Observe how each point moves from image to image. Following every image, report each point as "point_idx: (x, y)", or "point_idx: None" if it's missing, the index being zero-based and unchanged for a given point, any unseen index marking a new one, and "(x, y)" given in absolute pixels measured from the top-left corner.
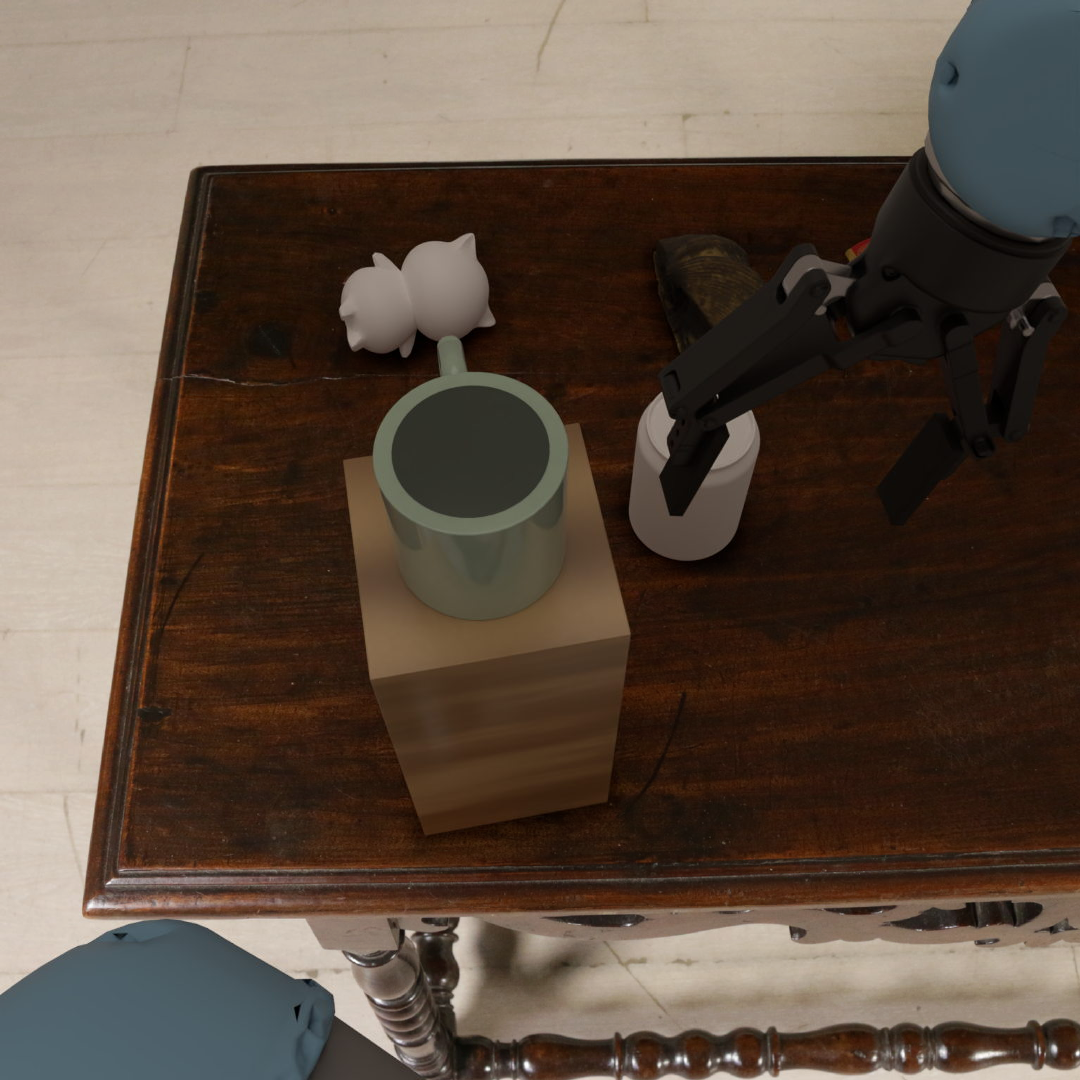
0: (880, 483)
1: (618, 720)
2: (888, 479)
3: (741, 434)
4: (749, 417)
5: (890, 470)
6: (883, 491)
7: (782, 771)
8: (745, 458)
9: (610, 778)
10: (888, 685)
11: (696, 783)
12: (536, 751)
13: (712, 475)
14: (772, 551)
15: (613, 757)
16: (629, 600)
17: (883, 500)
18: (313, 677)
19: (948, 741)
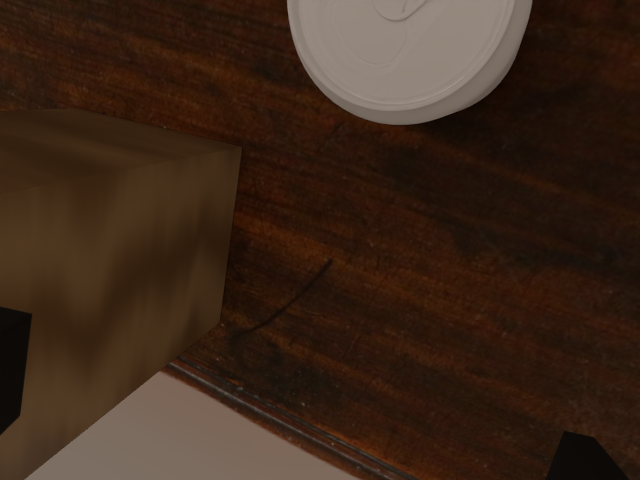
0: (573, 443)
1: (47, 460)
2: (582, 477)
3: (465, 45)
4: (506, 6)
5: (598, 477)
6: (564, 463)
7: (388, 379)
8: (449, 98)
9: (179, 354)
10: (559, 360)
11: (302, 347)
12: None
13: (372, 110)
14: (530, 134)
15: (138, 387)
16: (319, 128)
17: (552, 473)
18: (7, 86)
19: None
